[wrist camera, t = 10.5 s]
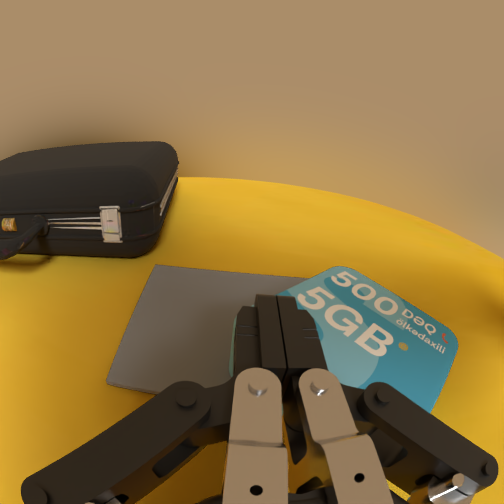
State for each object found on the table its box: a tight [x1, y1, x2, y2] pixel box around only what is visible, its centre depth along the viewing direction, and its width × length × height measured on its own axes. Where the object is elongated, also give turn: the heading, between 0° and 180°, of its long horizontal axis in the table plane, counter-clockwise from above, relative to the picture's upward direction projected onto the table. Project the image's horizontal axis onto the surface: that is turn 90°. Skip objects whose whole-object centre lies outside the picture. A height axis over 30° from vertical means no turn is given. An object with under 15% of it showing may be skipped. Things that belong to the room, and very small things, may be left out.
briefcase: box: [0, 141, 179, 260], centre depth 29 cm, size 36×32×10 cm
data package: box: [229, 266, 458, 415], centre depth 16 cm, size 12×4×12 cm
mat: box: [106, 265, 310, 394], centre depth 21 cm, size 14×18×1 cm
